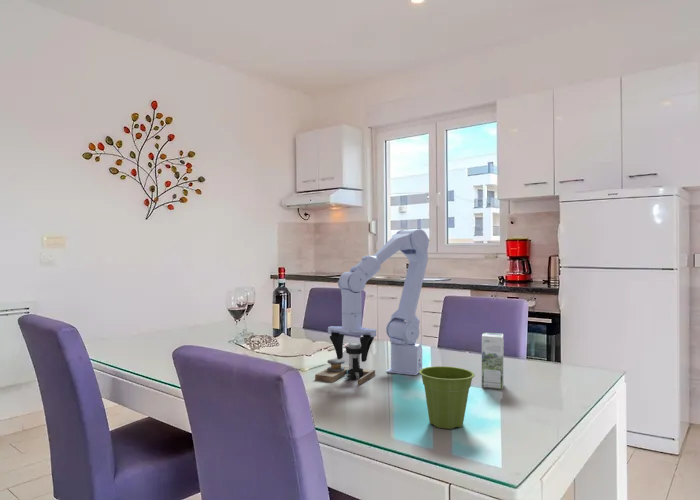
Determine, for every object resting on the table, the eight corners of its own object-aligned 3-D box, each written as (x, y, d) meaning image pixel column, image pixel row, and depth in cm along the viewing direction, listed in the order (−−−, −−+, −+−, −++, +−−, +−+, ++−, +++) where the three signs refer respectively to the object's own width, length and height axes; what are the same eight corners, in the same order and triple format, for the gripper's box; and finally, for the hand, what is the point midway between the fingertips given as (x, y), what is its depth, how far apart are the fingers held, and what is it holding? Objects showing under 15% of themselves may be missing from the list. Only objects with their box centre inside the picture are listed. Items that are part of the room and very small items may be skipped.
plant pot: (482, 433, 103) (482, 378, 103) (425, 434, 102) (426, 379, 102) (464, 413, 115) (464, 365, 115) (414, 415, 114) (414, 366, 114)
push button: (350, 382, 141) (350, 347, 141) (338, 378, 145) (338, 344, 145) (367, 378, 146) (367, 344, 146) (354, 374, 150) (354, 341, 150)
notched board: (375, 375, 149) (375, 361, 149) (359, 385, 138) (359, 370, 138) (333, 370, 155) (333, 357, 155) (315, 379, 144) (315, 365, 144)
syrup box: (503, 384, 139) (503, 332, 139) (503, 390, 134) (503, 336, 134) (482, 382, 141) (482, 331, 141) (481, 388, 136) (481, 335, 136)
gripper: (323, 313, 144) (323, 360, 144) (369, 316, 138) (370, 365, 138) (333, 310, 150) (333, 355, 150) (378, 313, 144) (379, 359, 144)
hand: (351, 359), depth 144 cm, fingers open, 7 cm apart
